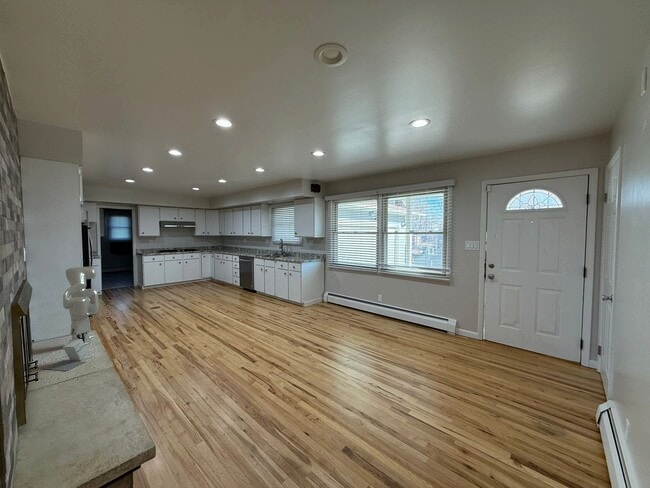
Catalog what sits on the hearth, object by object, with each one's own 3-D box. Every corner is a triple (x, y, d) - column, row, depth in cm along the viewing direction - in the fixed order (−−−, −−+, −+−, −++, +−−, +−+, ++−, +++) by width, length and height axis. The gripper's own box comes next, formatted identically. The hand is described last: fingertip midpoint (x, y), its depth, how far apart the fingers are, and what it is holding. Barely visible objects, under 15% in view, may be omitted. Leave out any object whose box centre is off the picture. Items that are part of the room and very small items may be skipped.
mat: (63, 360, 187) (63, 360, 187) (85, 362, 184) (85, 361, 184) (42, 369, 175) (42, 368, 175) (66, 371, 172) (66, 370, 172)
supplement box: (80, 360, 187) (73, 347, 181) (70, 360, 187) (62, 347, 181) (89, 352, 193) (82, 338, 188) (79, 352, 193) (71, 338, 188)
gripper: (86, 313, 198) (87, 338, 199) (64, 319, 184) (65, 347, 184) (95, 314, 197) (96, 339, 198) (73, 320, 182) (74, 347, 183)
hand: (81, 343), depth 191 cm, fingers closed
